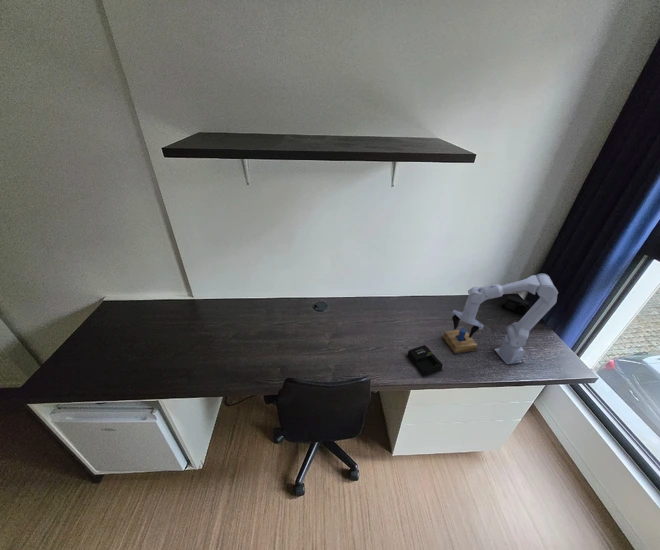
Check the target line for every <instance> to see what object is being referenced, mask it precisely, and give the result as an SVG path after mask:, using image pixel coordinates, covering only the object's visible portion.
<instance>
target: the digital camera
mask: <svg viewBox="0 0 660 550" xmlns="http://www.w3.org/2000/svg"><path fill="white" fill-rule="evenodd" d="M529 302H530V301H528V300H525V299H522V298H520V297H516V296H512V295H508V296H507V298H506V300H505V303H504V306H503V309H506V310H509V311H512V312H515V313H518V314H520V315H525V314H526V311H527V309H528V307H529Z"/></svg>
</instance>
